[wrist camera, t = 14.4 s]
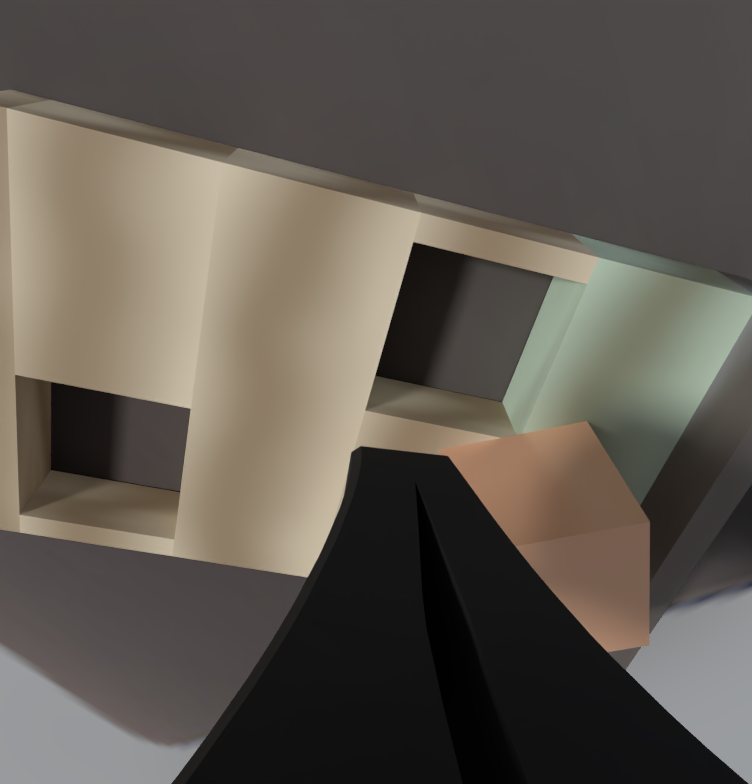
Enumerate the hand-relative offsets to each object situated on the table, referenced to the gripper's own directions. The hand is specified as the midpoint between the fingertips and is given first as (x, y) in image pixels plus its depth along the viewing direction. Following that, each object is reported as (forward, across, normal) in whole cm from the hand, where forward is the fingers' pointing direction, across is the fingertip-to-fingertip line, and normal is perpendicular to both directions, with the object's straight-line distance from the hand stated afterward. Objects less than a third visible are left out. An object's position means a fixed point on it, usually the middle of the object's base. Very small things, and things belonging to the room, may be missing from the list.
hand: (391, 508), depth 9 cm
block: (+8, -5, +5) cm, 11 cm away
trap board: (+10, 0, +4) cm, 11 cm away
